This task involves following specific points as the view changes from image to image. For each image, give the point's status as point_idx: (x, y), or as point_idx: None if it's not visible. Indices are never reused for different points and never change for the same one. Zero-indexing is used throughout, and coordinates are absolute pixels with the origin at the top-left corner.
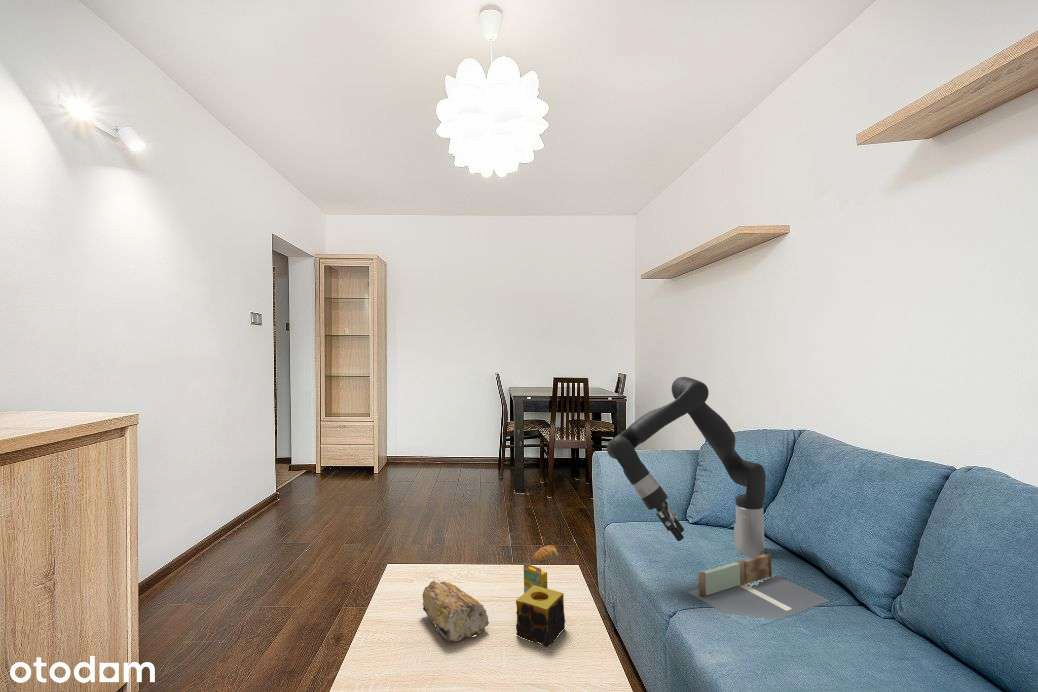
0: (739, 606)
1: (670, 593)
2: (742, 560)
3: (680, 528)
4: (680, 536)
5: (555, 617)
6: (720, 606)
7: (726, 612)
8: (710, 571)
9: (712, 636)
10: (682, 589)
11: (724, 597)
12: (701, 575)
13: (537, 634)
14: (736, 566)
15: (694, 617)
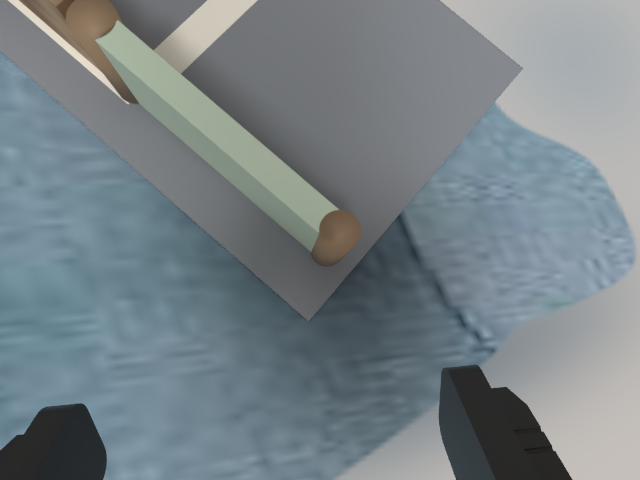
0: (358, 99)
1: (341, 404)
2: (56, 2)
3: (69, 466)
4: (525, 410)
5: None
6: (391, 172)
7: (430, 148)
8: (293, 183)
9: (614, 196)
10: (276, 352)
11: (301, 157)
12: (359, 233)
13: None
14: (143, 44)
15: (511, 271)
